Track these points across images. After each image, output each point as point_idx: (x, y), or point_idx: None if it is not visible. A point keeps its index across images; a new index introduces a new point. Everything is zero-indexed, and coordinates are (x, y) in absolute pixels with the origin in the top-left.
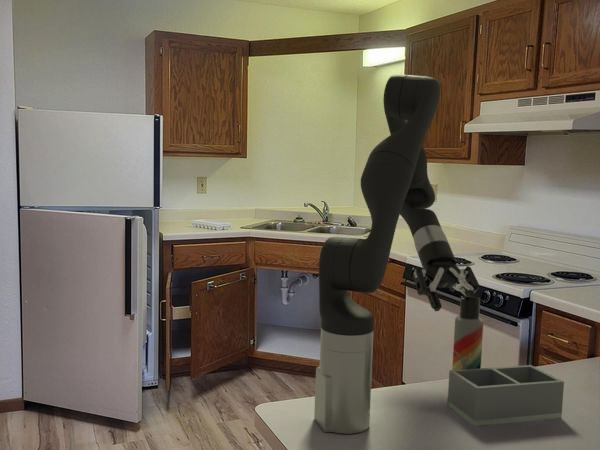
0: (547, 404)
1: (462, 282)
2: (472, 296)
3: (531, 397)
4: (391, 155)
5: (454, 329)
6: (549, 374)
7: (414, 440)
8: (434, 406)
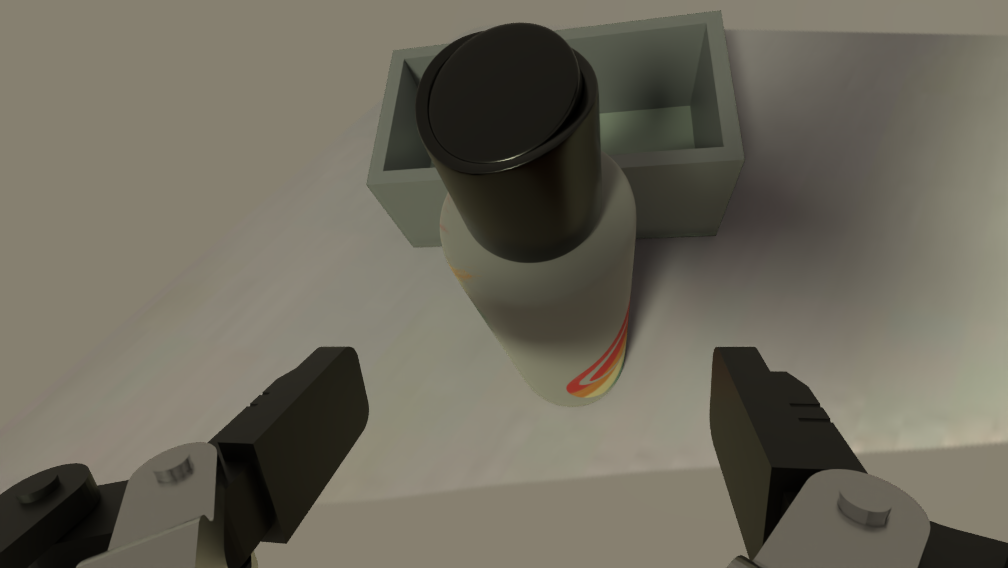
0: None
1: (205, 529)
2: (279, 397)
3: None
4: None
5: (622, 291)
6: (383, 102)
7: (919, 50)
8: (767, 236)
